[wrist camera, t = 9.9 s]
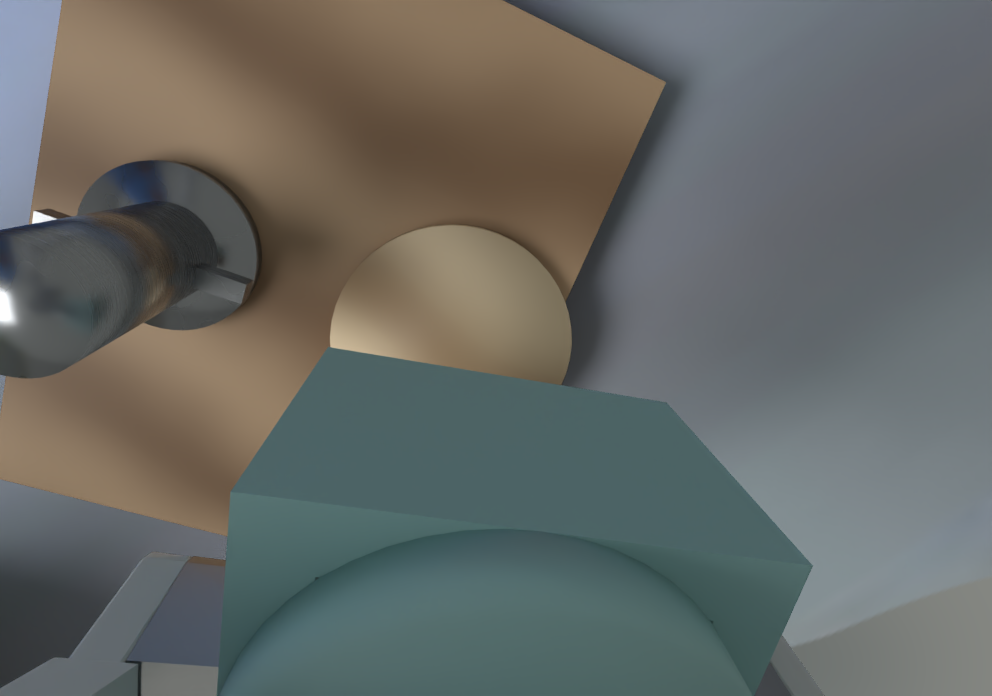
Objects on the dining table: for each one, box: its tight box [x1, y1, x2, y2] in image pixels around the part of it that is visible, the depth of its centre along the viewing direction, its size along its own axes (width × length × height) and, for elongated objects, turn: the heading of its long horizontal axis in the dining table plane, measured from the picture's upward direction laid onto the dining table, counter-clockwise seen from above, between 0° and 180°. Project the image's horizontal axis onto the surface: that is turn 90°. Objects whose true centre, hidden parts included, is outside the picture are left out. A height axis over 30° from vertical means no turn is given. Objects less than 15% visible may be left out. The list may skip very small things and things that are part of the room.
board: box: [0, 0, 666, 536], centre depth 18 cm, size 20×17×2 cm
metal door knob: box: [0, 160, 262, 379], centre depth 14 cm, size 5×5×7 cm
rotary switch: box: [217, 347, 812, 696], centre depth 7 cm, size 6×6×6 cm
